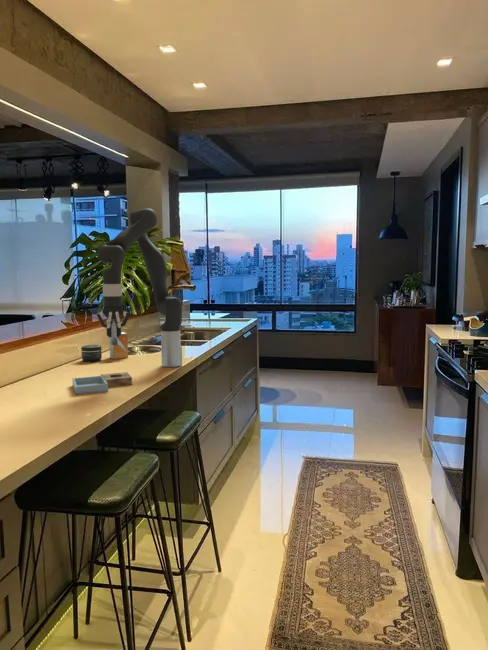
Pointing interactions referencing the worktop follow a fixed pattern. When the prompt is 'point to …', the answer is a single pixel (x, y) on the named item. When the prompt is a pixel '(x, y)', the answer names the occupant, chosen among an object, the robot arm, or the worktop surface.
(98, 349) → the jar
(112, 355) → the small box
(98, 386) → the tray
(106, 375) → the plate
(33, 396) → the worktop surface
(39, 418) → the worktop surface
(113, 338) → the pin
